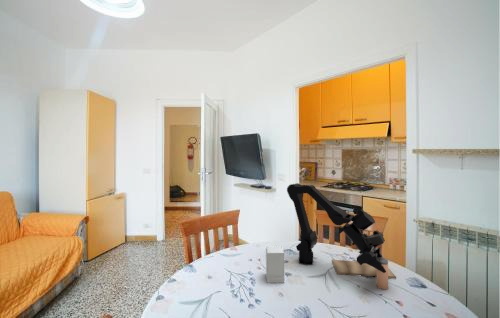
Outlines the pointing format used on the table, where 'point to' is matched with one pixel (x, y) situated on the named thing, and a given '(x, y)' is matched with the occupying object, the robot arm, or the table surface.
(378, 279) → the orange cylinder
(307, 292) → the table surface
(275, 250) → the supplement box
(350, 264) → the board
